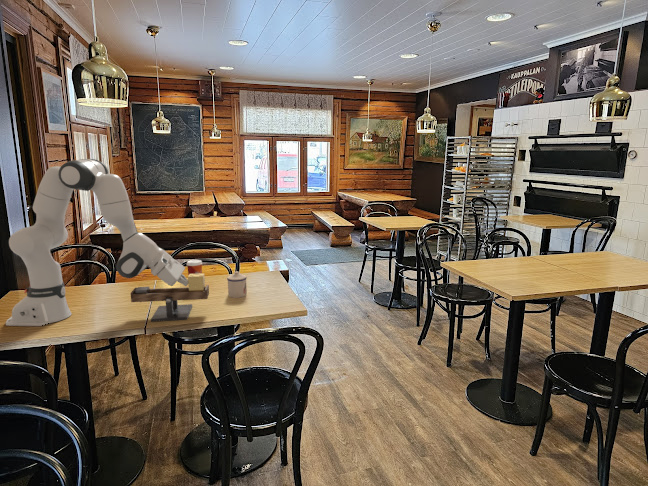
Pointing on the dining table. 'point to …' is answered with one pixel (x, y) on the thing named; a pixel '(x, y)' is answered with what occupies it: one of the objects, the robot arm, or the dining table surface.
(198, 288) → the rider
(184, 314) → the stand
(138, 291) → the counterweight
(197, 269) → the paper cup
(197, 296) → the beam
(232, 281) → the teacup with lid
